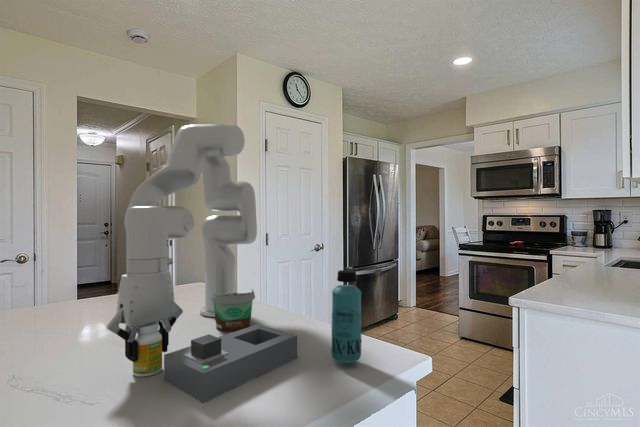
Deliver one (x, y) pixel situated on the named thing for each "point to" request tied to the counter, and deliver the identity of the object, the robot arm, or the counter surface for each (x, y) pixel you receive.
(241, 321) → the food container
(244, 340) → the control panel
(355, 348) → the beverage bottle
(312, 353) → the counter surface
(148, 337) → the supplement bottle
